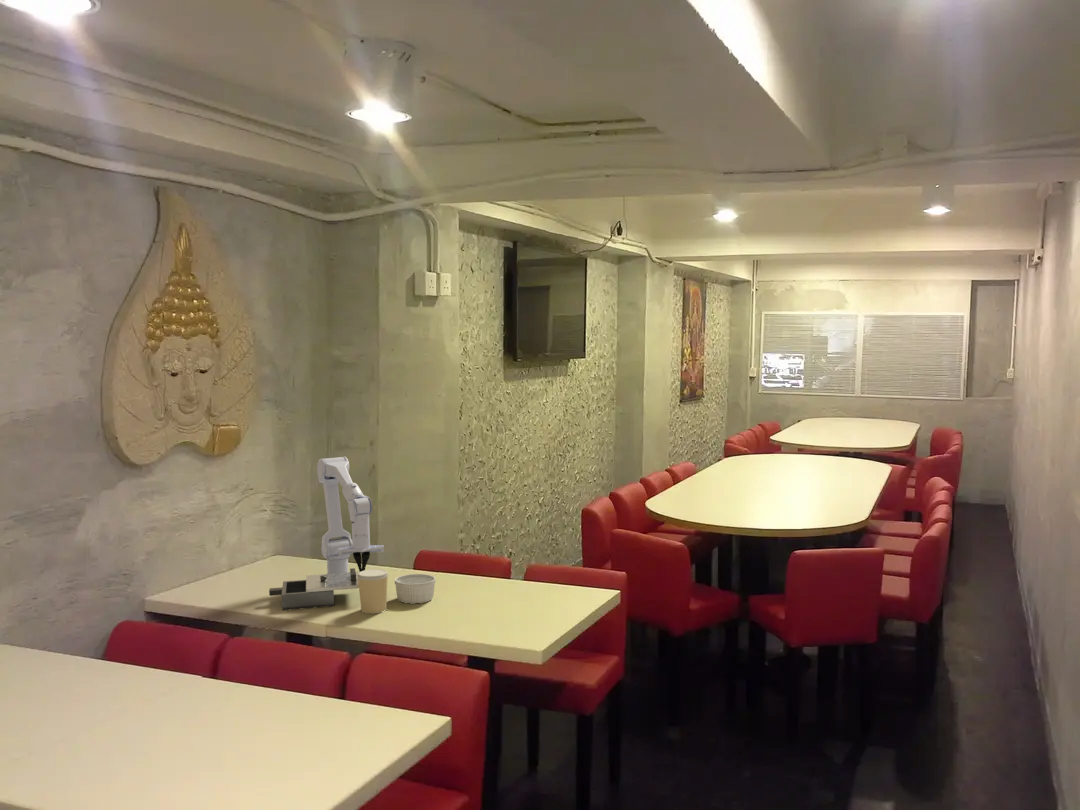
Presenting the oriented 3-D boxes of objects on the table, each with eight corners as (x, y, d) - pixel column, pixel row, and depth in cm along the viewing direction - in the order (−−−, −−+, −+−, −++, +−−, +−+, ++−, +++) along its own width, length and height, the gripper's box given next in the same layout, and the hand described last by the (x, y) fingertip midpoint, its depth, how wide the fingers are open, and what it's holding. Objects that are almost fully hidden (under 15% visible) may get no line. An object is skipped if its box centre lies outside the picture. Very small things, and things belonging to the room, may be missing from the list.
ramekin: (431, 592, 293) (431, 571, 293) (439, 603, 281) (439, 581, 281) (392, 596, 289) (391, 575, 289) (398, 607, 277) (398, 585, 276)
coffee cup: (392, 605, 278) (391, 568, 277) (384, 615, 269) (383, 576, 268) (363, 605, 279) (362, 568, 278) (354, 614, 270) (353, 576, 269)
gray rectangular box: (271, 597, 289) (270, 582, 289) (333, 592, 294) (332, 577, 294) (268, 611, 274) (268, 595, 273) (334, 606, 279) (333, 590, 278)
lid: (306, 578, 292) (306, 568, 292) (358, 574, 296) (357, 564, 296) (306, 592, 276) (305, 581, 275) (360, 588, 280) (360, 577, 280)
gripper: (338, 538, 282) (339, 579, 283) (384, 535, 285) (385, 576, 286) (338, 533, 288) (339, 574, 289) (382, 530, 292) (383, 570, 293)
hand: (361, 574), depth 288 cm, fingers closed
